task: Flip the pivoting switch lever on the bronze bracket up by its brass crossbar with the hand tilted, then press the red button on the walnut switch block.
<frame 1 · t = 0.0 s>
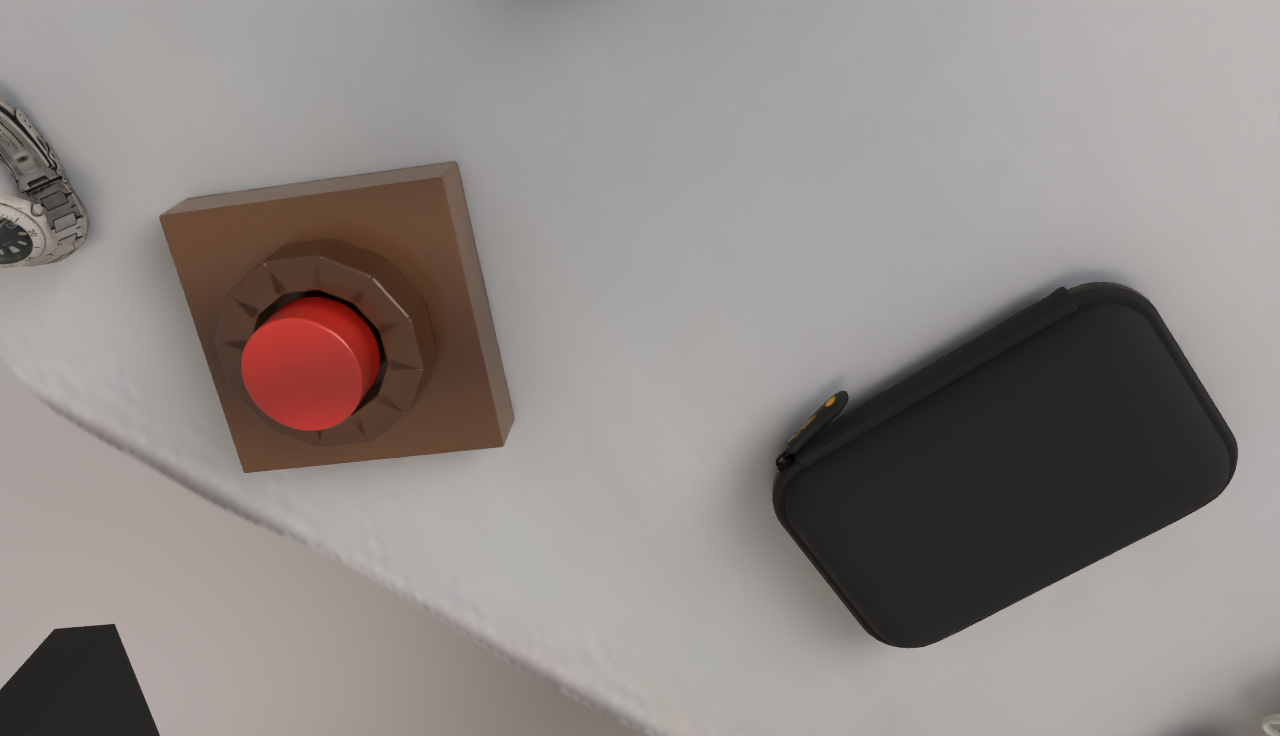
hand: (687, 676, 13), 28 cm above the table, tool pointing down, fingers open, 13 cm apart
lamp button: (312, 363, 38), point 5 cm above the table, slide at 0.1 cm
wristwatch: (45, 164, 41), on the table
carrying case: (980, 443, 42), on the table
switch block: (355, 312, 42), on the table
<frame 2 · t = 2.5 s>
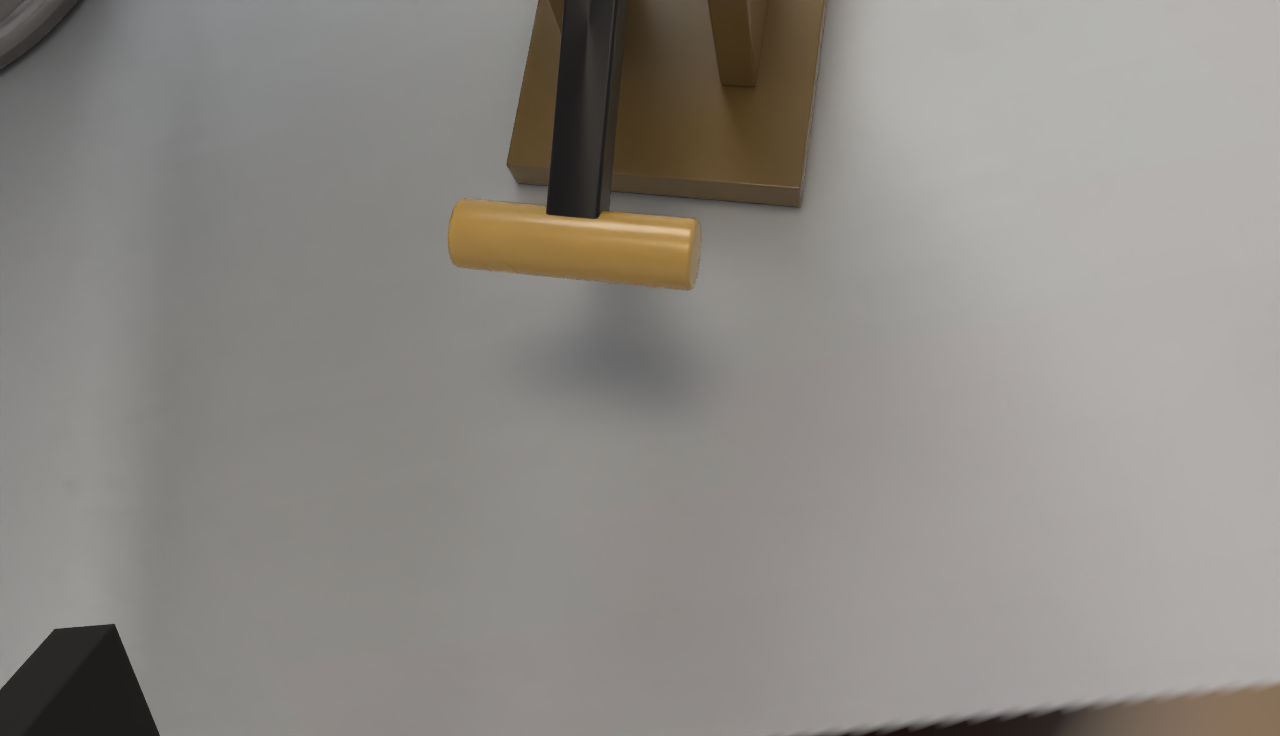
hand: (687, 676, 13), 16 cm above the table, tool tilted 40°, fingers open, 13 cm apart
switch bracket: (681, 34, 33), on the table
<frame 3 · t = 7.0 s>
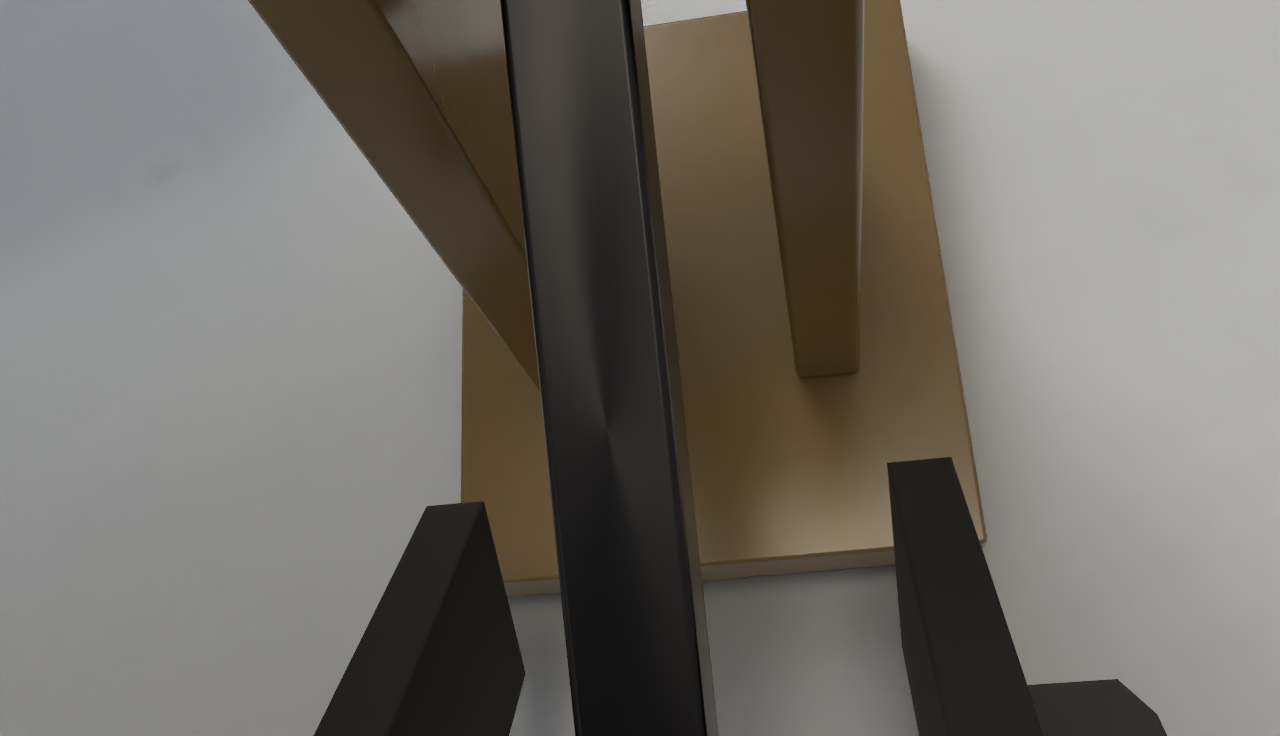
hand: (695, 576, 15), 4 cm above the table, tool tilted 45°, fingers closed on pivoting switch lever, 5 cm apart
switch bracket: (701, 296, 20), on the table
pivoting switch lever: (604, 307, 10), point 9 cm above the table, hinge at -20.0°, touching gripper
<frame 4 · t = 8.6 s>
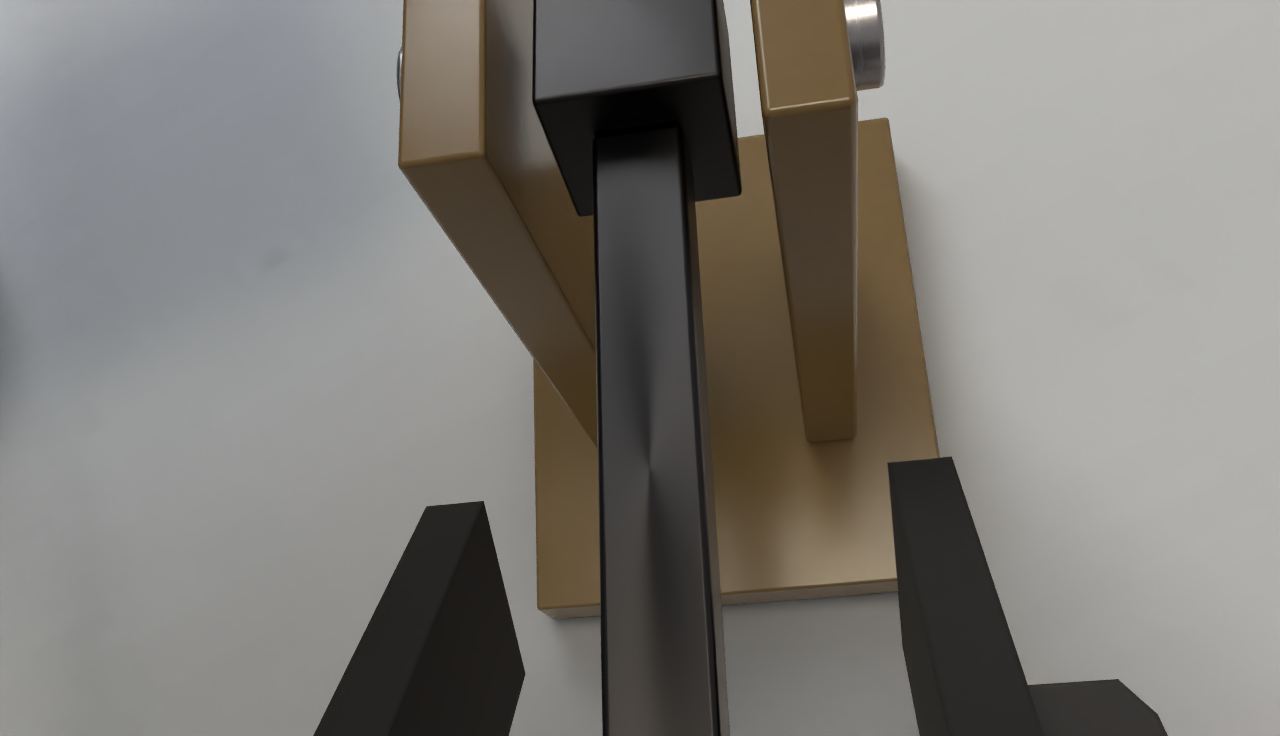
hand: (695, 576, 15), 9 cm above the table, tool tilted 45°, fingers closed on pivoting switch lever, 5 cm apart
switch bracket: (727, 370, 25), on the table
pivoting switch lever: (653, 394, 13), point 11 cm above the table, hinge at 5.3°, touching gripper
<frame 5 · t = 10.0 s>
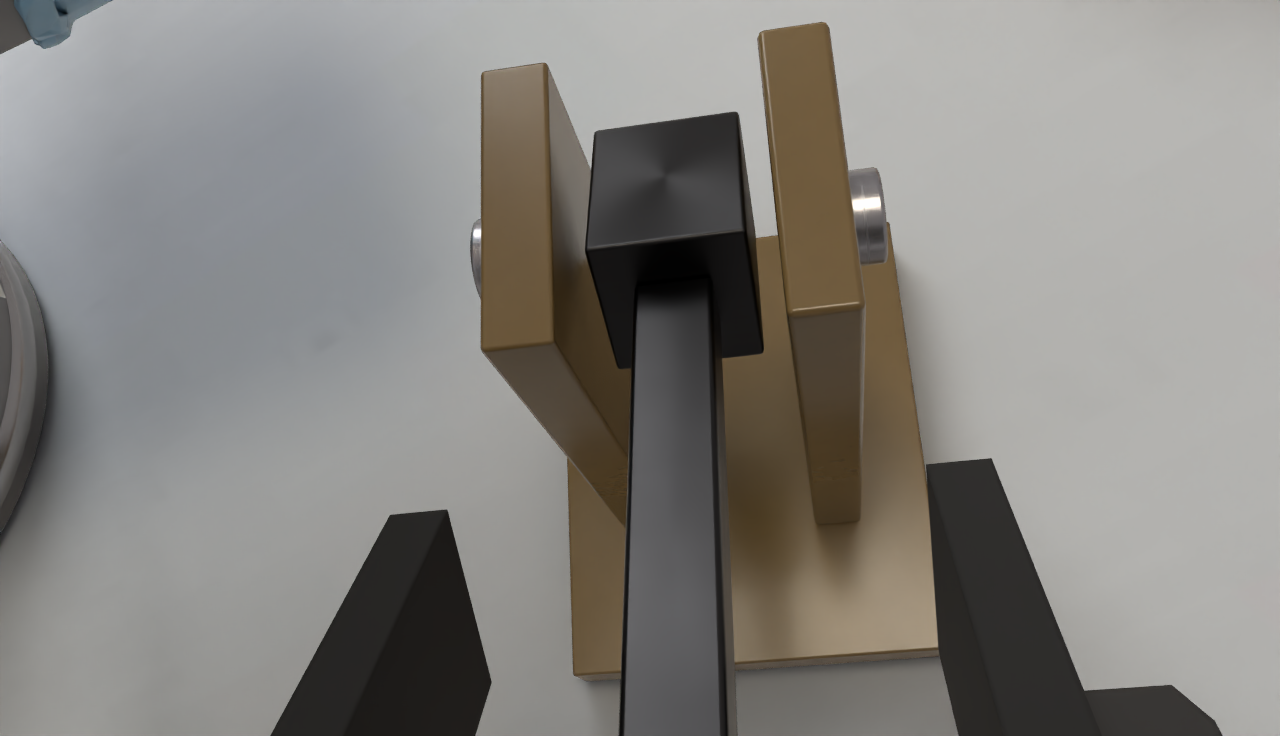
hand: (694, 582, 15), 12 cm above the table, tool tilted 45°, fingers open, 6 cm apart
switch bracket: (743, 452, 27), on the table
pivoting switch lever: (678, 490, 14), point 13 cm above the table, hinge at 22.6°
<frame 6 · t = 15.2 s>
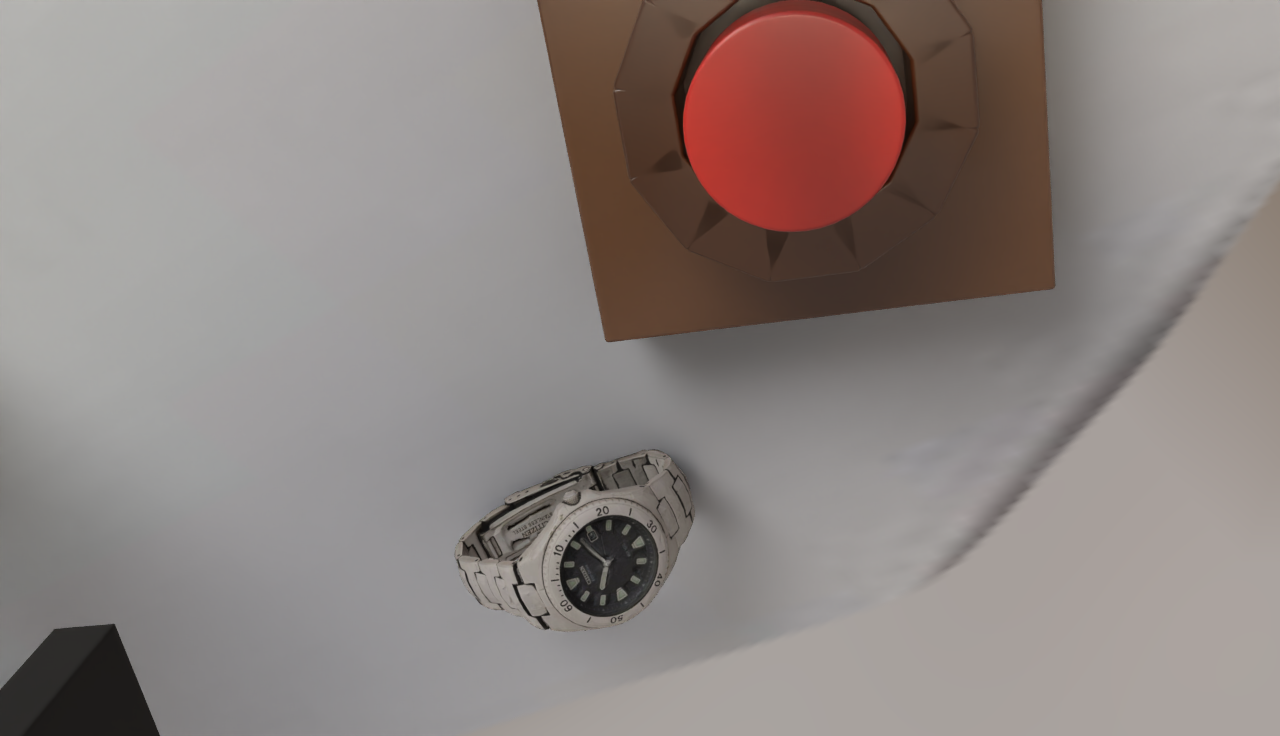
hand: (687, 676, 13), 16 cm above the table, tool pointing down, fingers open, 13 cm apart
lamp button: (793, 115, 22), point 5 cm above the table, slide at 0.1 cm
wristwatch: (586, 486, 31), on the table
switch block: (795, 76, 26), on the table
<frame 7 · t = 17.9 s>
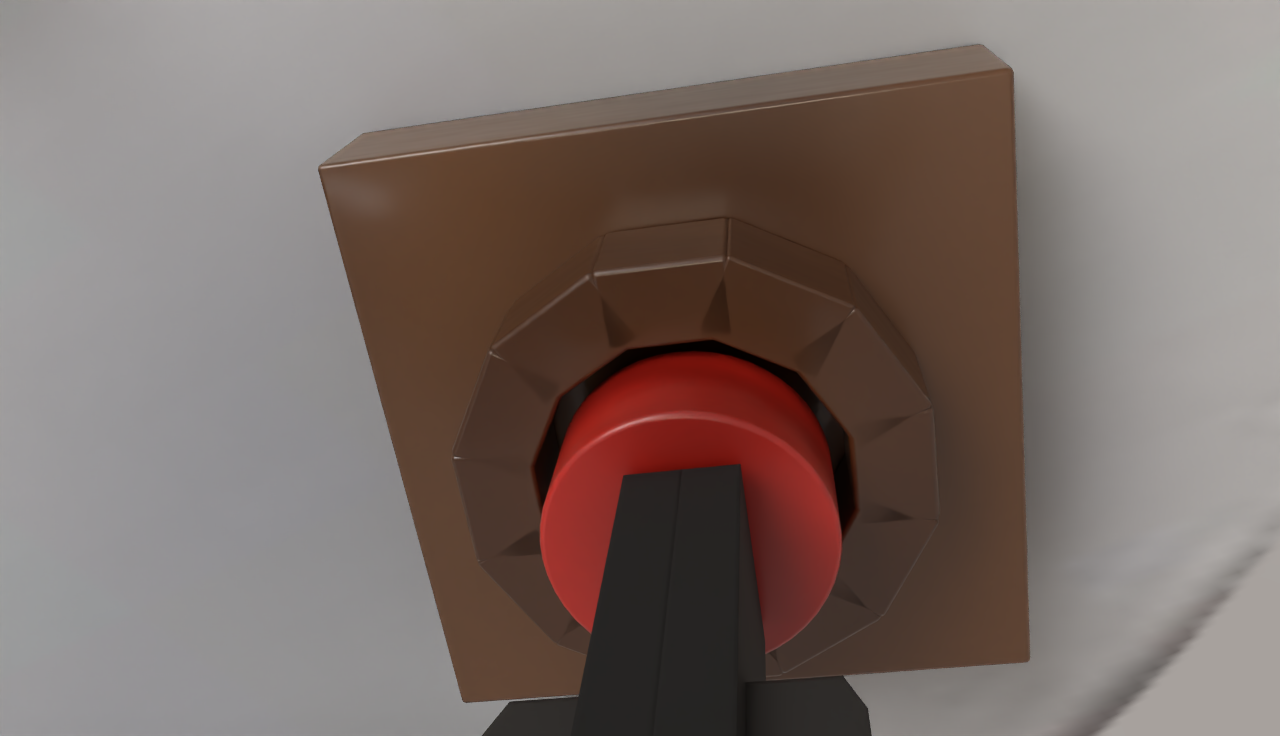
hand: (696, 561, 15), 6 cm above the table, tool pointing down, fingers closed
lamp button: (692, 508, 16), point 5 cm above the table, slide at 0.0 cm, touching gripper
switch block: (702, 374, 20), on the table
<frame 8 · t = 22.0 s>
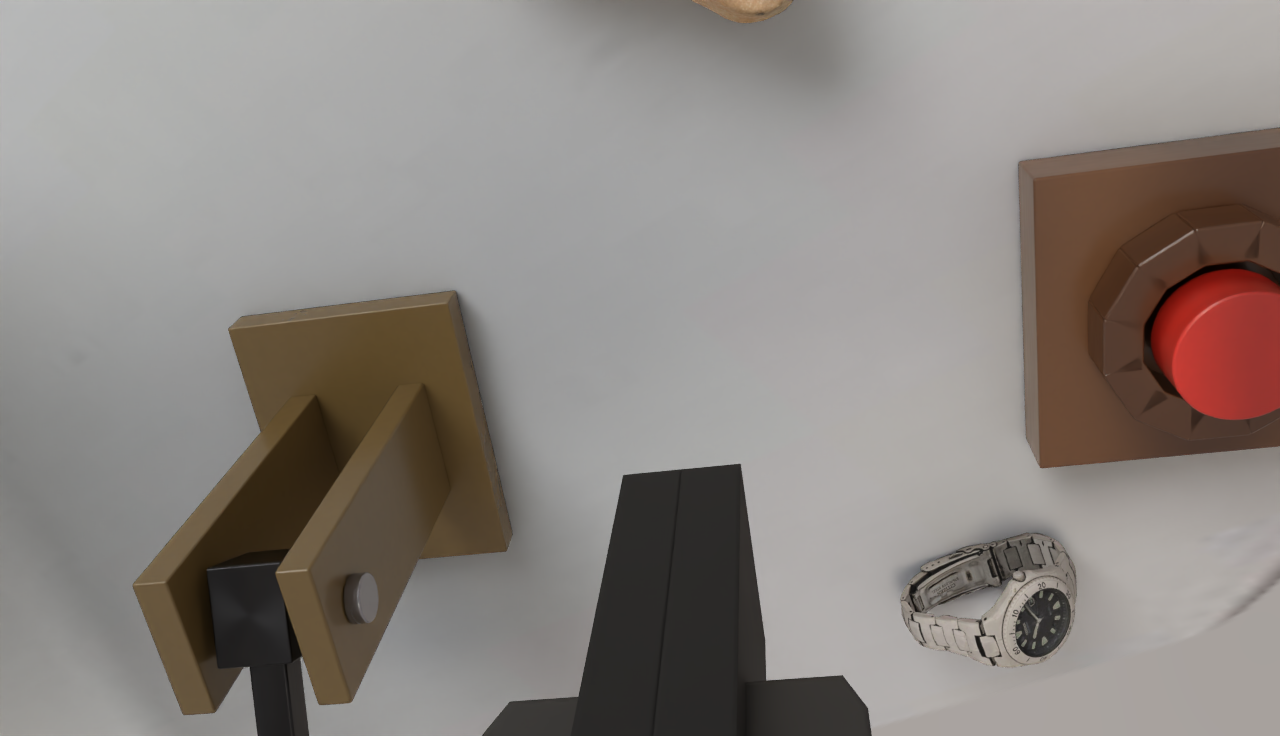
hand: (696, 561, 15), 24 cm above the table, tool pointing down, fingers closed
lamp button: (1232, 344, 34), point 5 cm above the table, slide at 0.1 cm
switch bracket: (381, 428, 43), on the table
wristwatch: (976, 557, 43), on the table
switch block: (1178, 289, 38), on the table
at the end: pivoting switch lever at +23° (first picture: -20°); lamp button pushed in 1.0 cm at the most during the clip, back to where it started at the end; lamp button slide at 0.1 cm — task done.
